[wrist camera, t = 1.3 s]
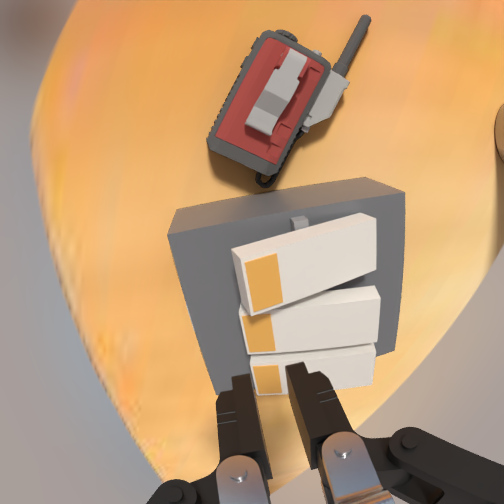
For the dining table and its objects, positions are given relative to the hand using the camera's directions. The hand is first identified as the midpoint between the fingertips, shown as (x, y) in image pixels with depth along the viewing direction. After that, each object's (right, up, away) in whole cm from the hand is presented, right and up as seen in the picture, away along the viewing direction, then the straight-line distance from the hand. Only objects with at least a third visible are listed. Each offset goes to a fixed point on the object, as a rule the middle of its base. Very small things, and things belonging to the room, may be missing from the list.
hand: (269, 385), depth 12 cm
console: (+3, +3, +20) cm, 20 cm away
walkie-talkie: (+3, +20, +14) cm, 25 cm away
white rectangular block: (+3, +5, +10) cm, 12 cm away
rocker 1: (+4, 0, +12) cm, 13 cm away
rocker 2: (+4, -4, +14) cm, 15 cm away
